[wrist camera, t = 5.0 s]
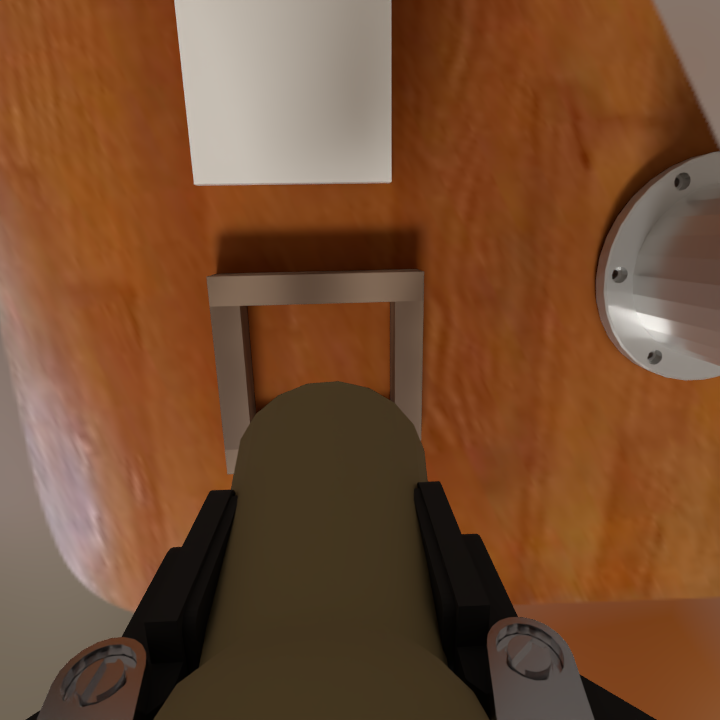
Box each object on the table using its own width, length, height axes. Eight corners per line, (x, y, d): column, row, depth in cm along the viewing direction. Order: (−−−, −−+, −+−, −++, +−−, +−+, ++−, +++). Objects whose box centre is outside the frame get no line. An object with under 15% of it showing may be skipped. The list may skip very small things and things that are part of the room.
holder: (416, 268, 25) (424, 271, 23) (414, 449, 28) (420, 464, 26) (216, 273, 25) (206, 276, 23) (234, 457, 28) (227, 474, 26)
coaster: (389, -44, 21) (391, -52, 21) (390, 183, 24) (391, 181, 23) (172, -47, 21) (168, -55, 20) (197, 185, 23) (194, 184, 23)
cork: (236, 374, 13) (-147, 889, 3) (437, 387, 14) (755, 887, 3) (234, 548, 15) (-19, 1296, 4) (414, 556, 15) (577, 1261, 5)
